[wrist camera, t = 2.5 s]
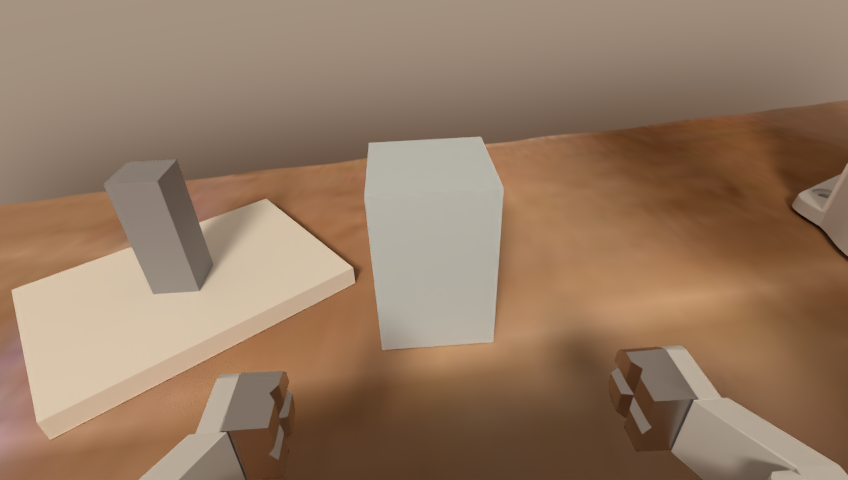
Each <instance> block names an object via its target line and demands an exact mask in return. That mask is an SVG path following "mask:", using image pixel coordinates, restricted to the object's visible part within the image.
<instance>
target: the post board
mask: <svg viewBox="0 0 848 480" xmlns="http://www.w3.org/2000/svg"><path fill="white" fill-rule="evenodd" d="M104 187H105V189H106V191H107V193H108V196H109V198H110V200H111V202H112V204H113V207H114V209H115V211H116V213H117V216H118V218H119V220H120V222H121V224H122V227H123V229H124V231H125V233H126V235H127V238H128V240H129V242H130V244H131V246H132V247H130V248H127V249H124V250H121V251H119V252H116V253H113V254H110V255H108V256H105V257H102V258H99V259H96V260H94V261H91V262H88V263H85V264H82V265H80V266H77V267H74V268H71V269H69V270H66V271H63V272H60V273H57V274H55V275H52V276H49V277H46V278H43V279H41V280H38V281H35V282H32V283H29V284H27V285H24V286H21V287H18V288H16V289H13V290H12V295H13V301H14V306H15V311H16V316H17V322H18V327H19V332H20V337H21V342H22V348H23V353H24V358H25V363H26V368H27V374H28V379H29V384H30V389H31V394H32V400H33V405H34V410H35V415H36V420H37V424H38V425H39V426H40V428H41V429H42V430H43V431H44V433H45V434H46V435H47V436H48V438H49V439H50V440H51V439H53V438H55V437H57V436H59V435H61V434H63V433H65V432H67V431H69V430H71V429H73V428H75V427H77V426H79V425H81V424H82V423H84V422H86V421H88V420H90V419H92V418H94V417H96V416H98V415H100V414H102V413H104V412H106V411H108V410H110V409H112V408H114V407H116V406H118V405H119V404H121V403H123V402H125V401H127V400H129V399H131V398H133V397H135V396H137V395H139V394H141V393H143V392H145V391H147V390H149V389H151V388H153V387H154V386H156V385H158V384H160V383H162V382H164V381H166V380H168V379H170V378H172V377H174V376H176V375H178V374H180V373H182V372H184V371H186V370H188V369H189V368H191V367H193V366H195V365H197V364H199V363H201V362H203V361H205V360H207V359H209V358H211V357H213V356H215V355H217V354H219V353H221V352H223V351H225V350H226V349H228V348H230V347H232V346H234V345H236V344H238V343H240V342H242V341H244V340H246V339H248V338H250V337H252V336H254V335H256V334H258V333H260V332H261V331H263V330H265V329H267V328H269V327H271V326H273V325H275V324H277V323H279V322H281V321H283V320H285V319H287V318H289V317H291V316H293V315H295V314H297V313H298V312H300V311H302V310H304V309H306V308H308V307H310V306H312V305H314V304H316V303H318V302H320V301H322V300H324V299H326V298H328V297H330V296H332V295H333V294H335V293H337V292H339V291H341V290H343V289H345V288H347V287H349V286H351V285H353V284H355V277H354V270H353V267H352V266H350V265H349V264H348V263H347V262H345V261H344V260H343V259H342V258H340V257H339V256H338V255H337V254H335V253H334V252H333V251H332V250H330V249H329V248H328V247H327V246H325V245H324V244H323V243H322V242H320V241H319V240H318V239H316V238H315V237H314V236H313V235H311V234H310V233H309V232H308V231H306V230H305V229H304V228H303V227H301V226H300V225H299V224H298V223H296V222H295V221H294V220H293V219H291V218H290V217H289V216H288V215H286V214H285V213H284V212H282V211H281V210H280V209H279V208H277V207H276V206H275V205H274V204H272V203H271V202H270V201H269V200H267V199H264V200H261V201H258V202H255V203H253V204H250V205H247V206H244V207H241V208H239V209H236V210H233V211H230V212H227V213H225V214H222V215H219V216H216V217H213V218H211V219H208V220H205V221H202V222H200V223H199V222H198V219H197V216H196V213H195V210H194V207H193V204H192V201H191V198H190V196H189V193H188V190H187V187H186V184H185V181H184V179H183V176H182V173H181V170H180V167H179V164H178V161H177V159H175V160H157V161H139V162H127V163H126V164H125V165H124V166H123V167H122V168H121V169H120V170H118V171H117V172H116V173H115V174H114V175H113V176H112V177H111V178H110V179H109V180H108V181H106V182H105V183H104Z"/></svg>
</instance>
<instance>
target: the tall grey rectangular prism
mask: <svg viewBox="0 0 848 480" xmlns="http://www.w3.org/2000/svg"><path fill="white" fill-rule="evenodd" d="M503 191H504V188H503V185H502V183H501V181H500V179H499V176H498V174H497V172H496V170H495V167H494V165H493V163H492V160H491V158H490V156H489V154H488V151H487V149H486V147H485V145H484V142H483V140H482V138H481V137H468V138H451V139H450V138H449V139H433V140H432V139H431V140H416V141H415V140H413V141H395V142H378V143H369V149H368V160H367V171H366V182H365V194H364V199H365V207H366V216H367V224H368V233H369V242H370V250H371V259H372V267H373V276H374V284H375V293H376V302H377V310H378V319H379V327H380V336H381V345H382V350H390V349H404V348H419V347H433V346H447V345H462V344H476V343H490V342H493V341H494V326H495V311H496V296H497V281H498V266H499V251H500V236H501V221H502V206H503Z"/></svg>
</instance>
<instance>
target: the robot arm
mask: <svg viewBox="0 0 848 480" xmlns="http://www.w3.org/2000/svg"><path fill="white" fill-rule="evenodd" d="M792 207H793V209H794V210H796V211H797V212H798V213H799V214H801V215H802V216H804V217H805V218H807V219H809V220H810V221H812V222H813V223H815V224H817V225H818V226H820V227H821V228H822V229H823V230H824V231H825V232H826V233H827V234H828V236H829V237H830V238H831V240H832V241H833V242H834V243H835V245H836V246H837V247H838V248H839V249H840V250H841V251H842V252H844V253H845V254H846V255H847V256H848V163H847V165H846V167H845V168H844V170H843V172H842V174H840V175H837V176H835V177H833V178H831V179H829V180H826V181H824V182H822V183H820V184H818V185H815V186H813V187H811V188H809V189H807V190H804V191H802V192H800V193H799V194H798V196H797V197H796V199H795V200H794V202H793V204H792ZM615 362H616V364H617V366H618V368H616V369H615V370H614V371H613V372H612V373H611V376H610V380H609V390H610V396H611V399H612V403H613V405H614V407H615V409H616V411H617V412H618V413H620V414H621V415H622V416H624V417H625V418H626V422H625V425H624V428H625V430H626V432H627V434H628V436H629V438H630V440H631V442H632V444H633V446H634V448H635V450H636V452H637V451H660V450H672V451H671V452H672V453H673V454H674V455H675V456H676V457H677V458H679V459H680V460H681V461H682V462H683V463H684V464H685V465H686V466H688V467H689V468H690V469H691V470H692V471H693V472H694V473H696V474H697V475H698V476H699V477H700V478H701V479H702V480H848V475H847V474H846V473H845V471H844V470H843V469H842V468H841V467H840V465H838V464H836V463H835V462H833V461H831V460H830V459H828V458H827V457H825V456H823V455H822V454H820V453H818V452H817V451H815V450H813V449H812V448H810V447H808V446H807V445H805V444H803V443H802V442H800V441H799V440H797V439H795V438H794V437H792V436H790V435H789V434H787V433H785V432H784V431H782V430H780V429H779V428H777V427H775V426H774V425H772V424H771V423H769V422H767V421H766V420H764V419H762V418H761V417H759V416H757V415H756V414H754V413H752V412H751V411H749V410H747V409H746V408H744V407H742V406H741V405H739V404H738V403H736V402H734V401H733V400H731V399H729V398H722V397H721V396H720V395H719V393H718V392H717V391H716V389H715V388H714V386H713V385H712V384H711V382H710V381H709V380H708V378H707V377H706V376H705V374H704V373H703V371H702V370H701V369H700V367H699V366H698V365H697V363H696V362H695V361H694V359H693V358H692V356H691V355H690V354H689V352H688V351H687V350H686V348H684V347H683V346H681V345H677V346H662V347H646V348H633V349H620V350H619V351H618V352H617V354H616V358H615ZM288 384H289V380H288V376H287V373H286V372H284V371H280V372H254V373H236V374H221V375H220V376H219V377H218V378H217V380H216V382H215V384H214V387H213V390H212V392H211V395H210V397H209V400H208V402H207V405H206V408H205V410H204V413H203V415H202V418H201V420H200V423H199V425H198V428H197V431H196V433H195V434H190V435H188V436H187V437H185V438H184V439H183V440H182V441H181V442H180V443H179V444H178V445H177V446H175V447H174V448H173V449H172V450H171V451H170V452H169V453H168V454H167V455H165V456H164V457H163V458H162V459H161V460H160V461H159V462H158V463H157V464H155V465H154V466H153V467H152V468H151V469H150V470H149V471H148V472H147V473H145V474H144V475H143V476H142V477H141V478H140V479H139V480H261V479H271V478H281V477H284V473H285V468H286V463H287V458H288V453H289V449H288V445H287V442H286V440H287V439H288V438H289V437H290V435H291V434H292V432H293V427H294V416H295V407H294V399H293V395H292V393H290V392H289V391H288V390H287V388H288Z"/></svg>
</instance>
